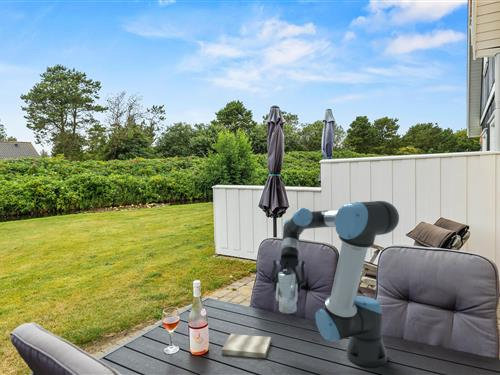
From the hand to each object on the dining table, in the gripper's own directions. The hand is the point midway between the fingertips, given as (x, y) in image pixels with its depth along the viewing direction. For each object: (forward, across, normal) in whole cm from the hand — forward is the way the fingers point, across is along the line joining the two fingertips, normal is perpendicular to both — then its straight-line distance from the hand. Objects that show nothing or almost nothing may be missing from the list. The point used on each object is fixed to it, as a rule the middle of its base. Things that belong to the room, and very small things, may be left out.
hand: (286, 299), depth 136 cm
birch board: (+14, +18, -18) cm, 29 cm away
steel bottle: (+1, 0, -6) cm, 7 cm away
